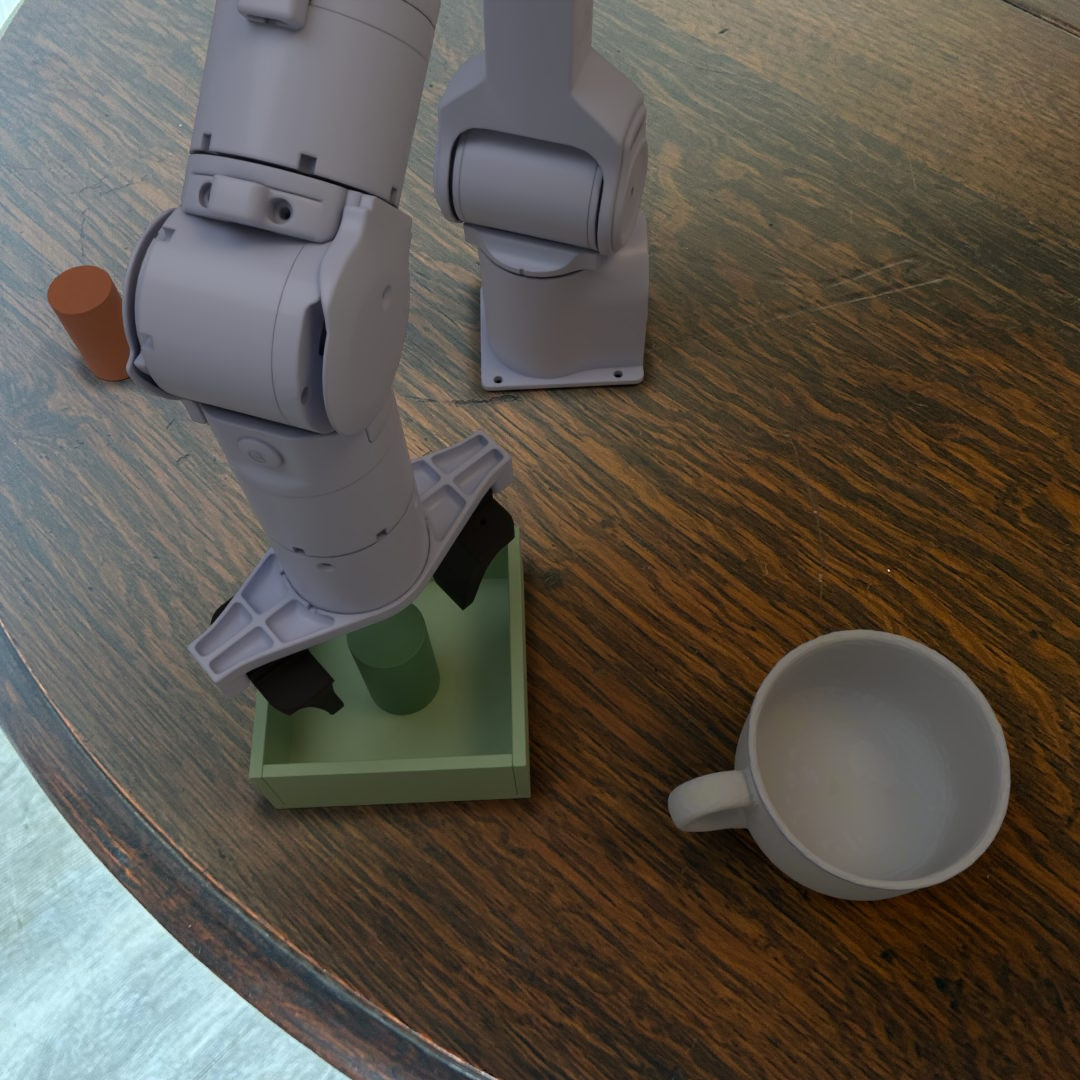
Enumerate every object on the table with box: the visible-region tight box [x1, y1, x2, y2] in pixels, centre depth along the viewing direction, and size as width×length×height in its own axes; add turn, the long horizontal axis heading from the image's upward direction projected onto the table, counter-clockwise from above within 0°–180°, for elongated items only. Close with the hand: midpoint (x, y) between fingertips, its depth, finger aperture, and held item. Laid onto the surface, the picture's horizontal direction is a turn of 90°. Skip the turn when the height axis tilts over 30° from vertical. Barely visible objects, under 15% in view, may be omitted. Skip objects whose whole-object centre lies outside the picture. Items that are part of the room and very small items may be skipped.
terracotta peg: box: [46, 264, 130, 382], centre depth 63 cm, size 4×4×6 cm
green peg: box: [346, 603, 440, 715], centre depth 51 cm, size 4×4×6 cm
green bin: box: [248, 524, 532, 810], centre depth 52 cm, size 12×12×5 cm
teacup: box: [667, 628, 1012, 902], centre depth 47 cm, size 14×11×8 cm
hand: (391, 643), depth 50 cm, fingers open, 7 cm apart
